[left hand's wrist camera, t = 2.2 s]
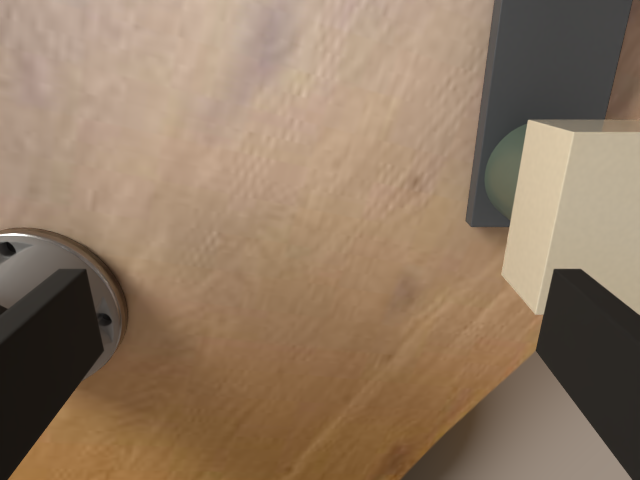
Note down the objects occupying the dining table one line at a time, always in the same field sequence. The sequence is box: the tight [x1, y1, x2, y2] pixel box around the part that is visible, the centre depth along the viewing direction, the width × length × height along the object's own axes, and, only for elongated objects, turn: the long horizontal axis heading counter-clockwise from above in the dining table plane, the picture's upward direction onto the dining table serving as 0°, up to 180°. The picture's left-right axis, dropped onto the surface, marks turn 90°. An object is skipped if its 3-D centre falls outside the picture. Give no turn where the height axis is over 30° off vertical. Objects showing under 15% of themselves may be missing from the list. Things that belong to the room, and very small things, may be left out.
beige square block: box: [501, 120, 640, 315], centre depth 25 cm, size 10×10×5 cm
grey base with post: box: [466, 0, 633, 227], centre depth 27 cm, size 29×9×12 cm, turn 0°
